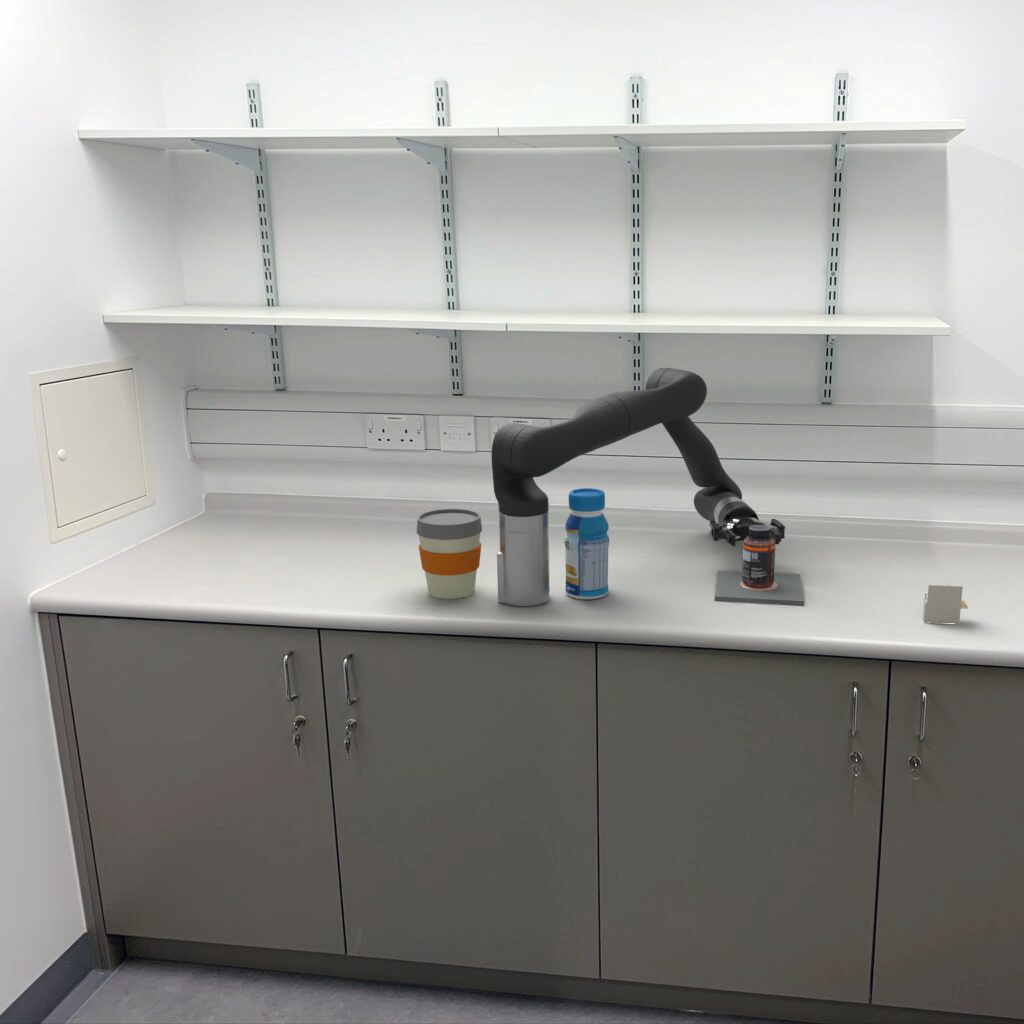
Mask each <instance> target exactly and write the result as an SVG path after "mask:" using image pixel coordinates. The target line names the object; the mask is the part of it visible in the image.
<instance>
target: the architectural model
mask: <svg viewBox="0 0 1024 1024" xmlns="http://www.w3.org/2000/svg"><path fill="white" fill-rule="evenodd" d="M963 587H964V586H963V585H950V584H949V583H948V582H945V583H944V584H942V585H940V584H939V585H938V584H928V588H927V593H925V594H924V599H923V600H922V601H923V607H922V619H923V620H922V621H924V622H930V623H929V624H931V623H955V624H959V625H960V620H961V611H962V610H963V609H964V610H965V609H967V610H968V609H969V606H968V604H967V603H966V601H965V600H962V598H963V597H962V596H963ZM924 622H923V623H924Z"/></svg>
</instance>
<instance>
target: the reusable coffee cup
mask: <svg viewBox="0 0 1024 1024" xmlns="http://www.w3.org/2000/svg"><path fill="white" fill-rule="evenodd" d="M416 519H417V521H416V534H417V535H418V539H419V544H418V552H419V559H420V563H421V564H420V565H421V568H422V569H421V570H423V571H424V574H425V579H426V585H427V591H428V592H427V593H428V595H429V596H431V597H433V598H436V599H440V598H441V599H442V600H456V599H455V598H458V599H462V598H461V597H464V598H467V597H470V596H471V594H472V595H473V594H474V593H475V592H476V589H475V588H476V581H477V572H478V569H479V567H480V563H481V553H482V543H481V533H482V531H483V527H482V519H481V513H479V512H477V511H474V510H471V509H465V508H441V509H434V510H429V511H425V512H422V513H420V514H419V515H418V516H417V518H416ZM469 595H470V596H469ZM466 596H467V597H466Z"/></svg>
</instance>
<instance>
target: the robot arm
mask: <svg viewBox="0 0 1024 1024" xmlns="http://www.w3.org/2000/svg"><path fill="white" fill-rule="evenodd" d="M707 387H708V386H707V384H706V382H705V380H704V378H702V377H701V376H700V375H699V374H697V373H695V372H693V371H690V370H684V369H678V368H671V367H659V368H657V369H655V370H653V371H652V372H651V374H650V375H649V376H648V378H647V381H646V383H645V389H637V390H635V389H633V390H624V391H617V392H612V393H607V394H605V395H602V396H599V397H596V398H592V399H591V400H589V401H587V402H585V403H584V404H582V405H581V406H580V407H578V409H577V410H576V411H575V413H573V416H572V417H571V418H570V419H567V420H566V421H563V422H560V423H556V424H554V425H553V424H552V425H548V426H535V425H529V424H524V423H517V422H510V423H509V422H508V423H505V424H504V425H502V426H500V428H499V429H498V430H497V432H496V433H495V435H494V436H493V440H492V445H491V471H492V483H493V493H494V496H495V499H496V501H497V505H498V520H499V521H498V528H499V531H498V532H499V533H498V534H499V550H498V552H497V553H496V564H497V565H496V566H497V568H496V569H497V571H496V572H497V602H498V603H504V604H507V605H510V606H517V607H533V606H540V605H542V604H545V603H547V602H548V601H549V600H550V597H551V596H550V592H551V591H550V589H551V586H550V531H549V529H550V528H549V527H550V521H549V520H550V517H549V515H550V514H549V507H550V506H549V503H550V502H549V497H548V495H547V494H546V492H544V491H543V490H542V489H541V488H540V487H539V486H538V484H537V482H536V481H535V480H534V478H540V477H542V476H544V475H547V474H549V473H551V472H553V471H554V470H556V469H558V468H560V467H562V466H563V465H565V464H567V463H569V462H571V461H572V460H574V459H575V458H578V457H580V456H583V455H585V454H586V455H587V454H588V453H592V452H594V451H595V450H598V449H600V448H604V447H607V446H609V445H612V444H615V443H617V442H619V441H622V440H624V439H627V438H628V437H630V436H632V435H636V434H638V433H640V432H642V431H645V430H648V429H650V428H653V427H655V426H657V425H660V424H662V426H663V427H664V428H665V431H666V432H667V433H668V435H669V436H670V438H671V439H672V441H673V442H674V444H675V446H676V447H677V449H678V451H679V452H680V455H681V457H682V459H683V460H684V463H685V466H686V469H687V470H688V473H689V475H690V477H691V480H692V482H693V483H694V484H695V485H696V486H697V487H699V488H701V489H700V490H698V491H697V492H696V493H695V495H694V496H693V505H694V506H693V507H694V509H695V511H696V512H697V514H699V515H700V517H701V518H702V519H705V520H706V521H709V531H708V533H709V535H710V537H711V539H712V541H715V542H717V541H718V542H719V541H720V540H721V539H722V541H723V542H725V543H726V544H729V545H730V546H731V547H734V546H736V542H744V539H745V538H746V537H748V536H749V527H750V526H753V525H765V526H768V527H770V537H771V538H773V539H774V541H775V545H779V544H780V543H781V542H782V539H785V538H786V537H785V532H786V531H785V529H786V526H785V524H783V523H782V522H781V521H779V520H778V519H776V518H771V519H770V522H768V521H764V520H760V519H759V516H758V515H757V513H756V511H755V510H754V509H753V508H752V507H750V505H749V504H748V503H746V502H745V501H744V500H743V493H742V491H741V489H740V487H739V486H738V484H737V482H736V481H734V480H733V478H731V477H730V476H729V475H728V473H727V472H726V470H725V468H724V467H723V465H722V462H721V461H720V458H719V455H718V453H717V451H716V448H715V447H714V444H713V443H712V442H711V440H710V439H709V437H707V435H706V434H705V433H704V432H703V431H702V430H701V429H700V428H699V427H698V426H697V425H696V424H695V423H694V421H693V420H692V419H691V418H690V416H692V415H694V414H695V413H696V412H698V411H699V410H700V409H701V407H703V405H704V403H705V401H706V398H707V395H708V388H707Z"/></svg>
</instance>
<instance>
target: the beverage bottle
mask: <svg viewBox="0 0 1024 1024" xmlns="http://www.w3.org/2000/svg"><path fill="white" fill-rule="evenodd" d="M605 506H606V494H605V492H604V490H602V489H599V488H598V489H597V488H592V487H591V488H589V487H587V488H586V487H584V488H576V489H572V490H571V491H569V492H568V509H569V510H570V511H571V513H570V514H569V515H568V517H567V518H566V519H567V520H566V522H565V525H564V526H565V527H564V530H565V531H566V535H565V536H564V543H563V544H564V547H565V549H564V550H565V551H564V552H565V553H564V554H565V593H566V594H567V596H568V597H571V598H574V599H578V600H586V601H587V600H588V601H589V600H597V599H601V598H604V597H606V596H607V595H608V593H609V547H610V537H609V535H608V531H609V529H610V528H609V522H608V520H607V518H606V516H605V514H604V512H602V511H604V510H605V508H606V507H605Z"/></svg>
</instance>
